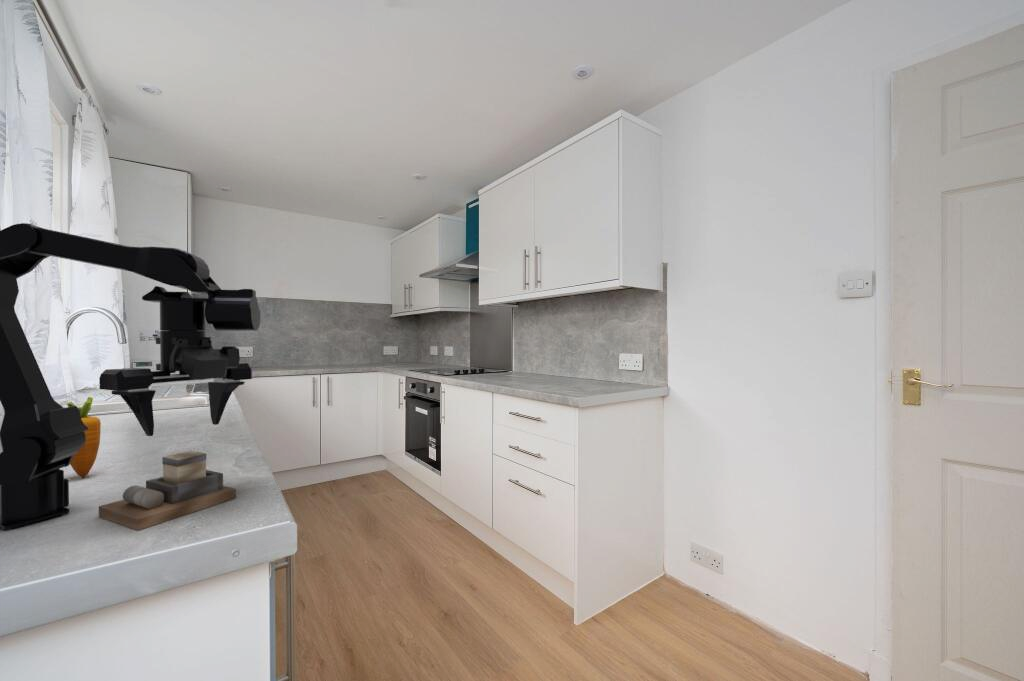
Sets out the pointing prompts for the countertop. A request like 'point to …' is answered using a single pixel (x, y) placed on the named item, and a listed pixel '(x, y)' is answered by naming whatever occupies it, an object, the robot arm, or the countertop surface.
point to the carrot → (87, 441)
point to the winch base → (166, 501)
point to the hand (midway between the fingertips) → (184, 429)
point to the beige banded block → (184, 467)
